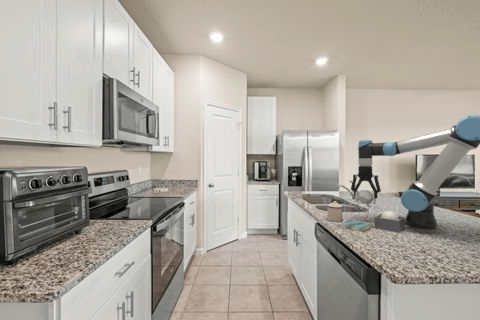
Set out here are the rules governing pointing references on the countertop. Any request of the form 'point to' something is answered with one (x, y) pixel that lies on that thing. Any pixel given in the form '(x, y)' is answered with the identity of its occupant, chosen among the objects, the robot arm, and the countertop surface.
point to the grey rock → (365, 197)
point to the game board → (355, 225)
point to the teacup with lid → (334, 212)
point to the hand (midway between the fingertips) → (365, 202)
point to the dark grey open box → (389, 224)
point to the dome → (390, 215)
